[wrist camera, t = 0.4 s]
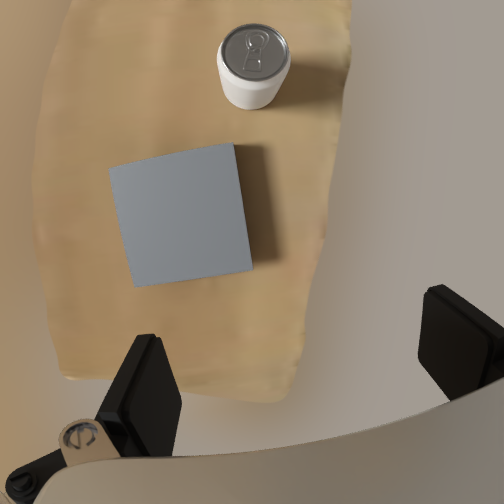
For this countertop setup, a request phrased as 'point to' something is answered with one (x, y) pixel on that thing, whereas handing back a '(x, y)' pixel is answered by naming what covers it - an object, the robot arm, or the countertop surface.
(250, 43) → the can
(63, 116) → the countertop surface
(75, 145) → the countertop surface
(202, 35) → the countertop surface
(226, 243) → the base block
